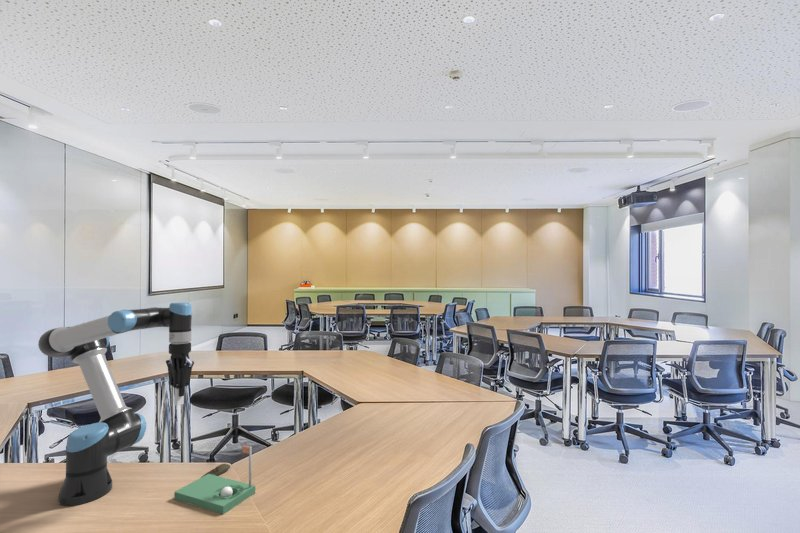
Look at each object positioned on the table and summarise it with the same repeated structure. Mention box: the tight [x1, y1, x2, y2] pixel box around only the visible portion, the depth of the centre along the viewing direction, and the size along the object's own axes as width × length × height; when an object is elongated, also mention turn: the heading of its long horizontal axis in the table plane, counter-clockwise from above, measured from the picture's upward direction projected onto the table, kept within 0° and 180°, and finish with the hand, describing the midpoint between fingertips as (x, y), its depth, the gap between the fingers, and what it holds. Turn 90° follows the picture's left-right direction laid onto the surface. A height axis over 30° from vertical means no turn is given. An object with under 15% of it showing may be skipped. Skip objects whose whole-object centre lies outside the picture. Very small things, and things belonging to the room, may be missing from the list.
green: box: [173, 445, 256, 515], centre depth 137 cm, size 24×14×16 cm, turn 66°
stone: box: [201, 463, 231, 477], centre depth 152 cm, size 13×5×2 cm, turn 158°
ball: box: [220, 487, 233, 497], centre depth 135 cm, size 4×4×4 cm
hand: (179, 404), depth 147 cm, fingers closed
